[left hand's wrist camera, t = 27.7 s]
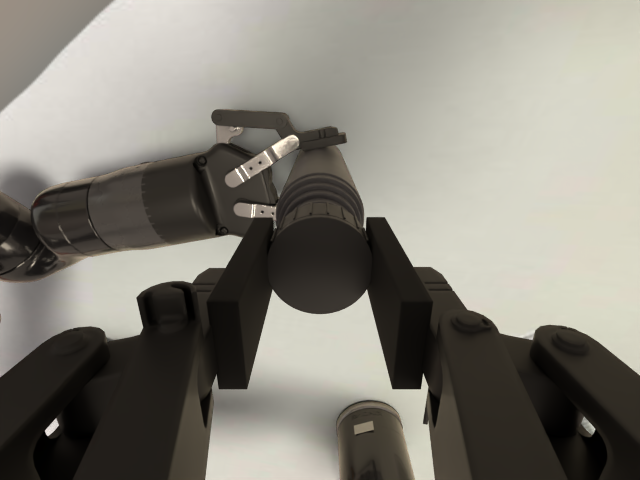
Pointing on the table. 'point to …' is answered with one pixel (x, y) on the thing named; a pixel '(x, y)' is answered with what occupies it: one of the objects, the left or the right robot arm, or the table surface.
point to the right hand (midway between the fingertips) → (349, 169)
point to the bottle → (320, 183)
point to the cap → (319, 259)
